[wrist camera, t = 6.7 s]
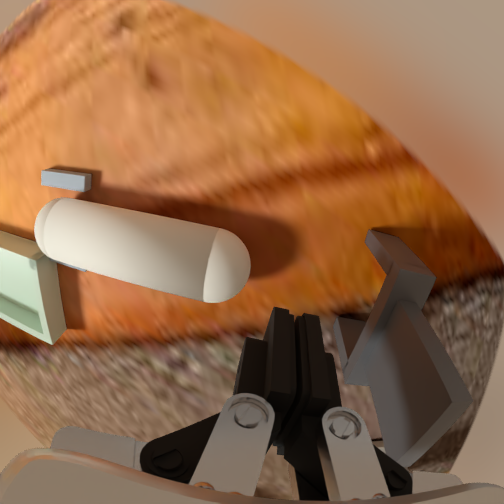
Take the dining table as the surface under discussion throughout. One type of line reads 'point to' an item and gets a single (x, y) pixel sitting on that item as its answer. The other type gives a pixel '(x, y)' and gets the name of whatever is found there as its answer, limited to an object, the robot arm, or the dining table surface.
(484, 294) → the dining table surface
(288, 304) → the dining table surface
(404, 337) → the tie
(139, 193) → the dining table surface
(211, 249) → the capsule
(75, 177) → the pair of grey bars
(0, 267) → the tray
